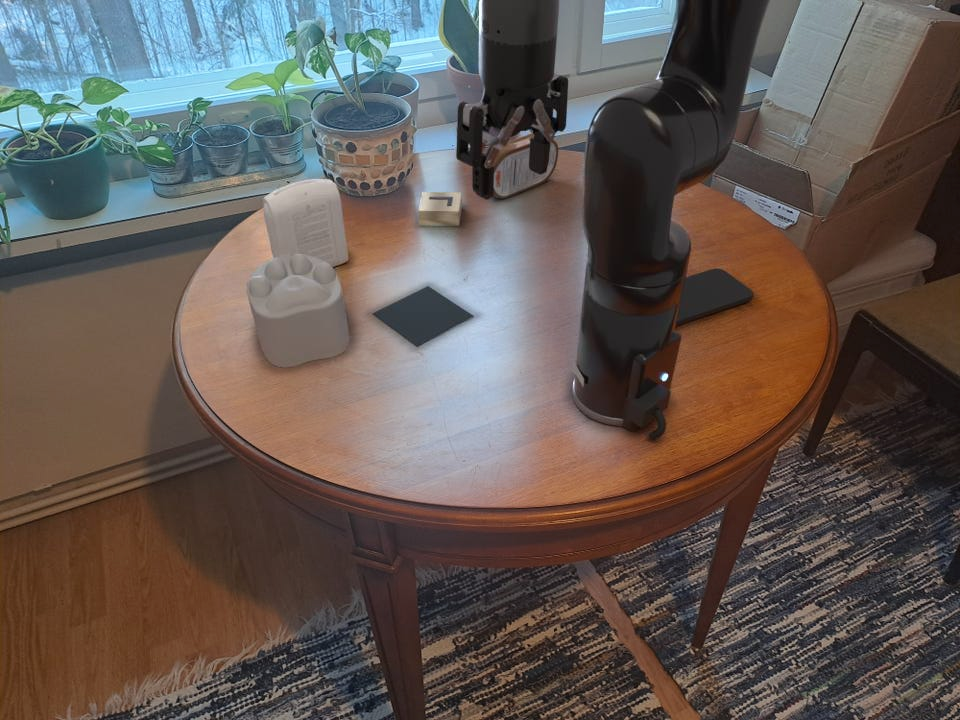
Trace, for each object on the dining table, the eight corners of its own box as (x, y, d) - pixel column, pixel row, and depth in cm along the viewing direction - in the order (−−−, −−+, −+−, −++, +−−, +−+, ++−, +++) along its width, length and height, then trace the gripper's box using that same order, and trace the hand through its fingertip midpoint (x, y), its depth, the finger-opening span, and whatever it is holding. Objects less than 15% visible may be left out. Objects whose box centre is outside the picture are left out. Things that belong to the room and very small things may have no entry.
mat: (473, 316, 88) (473, 315, 88) (416, 346, 84) (416, 346, 84) (428, 286, 93) (428, 285, 93) (372, 313, 89) (372, 313, 89)
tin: (546, 173, 119) (549, 124, 114) (560, 179, 117) (563, 130, 112) (478, 200, 112) (477, 149, 106) (490, 207, 110) (491, 156, 105)
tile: (461, 207, 110) (461, 191, 109) (459, 226, 106) (458, 210, 104) (423, 206, 110) (422, 191, 109) (419, 225, 106) (418, 210, 104)
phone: (625, 295, 90) (719, 266, 95) (624, 300, 91) (718, 271, 95) (660, 327, 85) (758, 294, 90) (659, 332, 85) (756, 299, 90)
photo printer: (341, 249, 101) (328, 167, 93) (354, 262, 98) (342, 179, 90) (272, 271, 97) (252, 187, 89) (284, 285, 94) (265, 201, 86)
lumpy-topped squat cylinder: (267, 372, 80) (251, 311, 75) (252, 310, 90) (236, 251, 84) (357, 351, 83) (347, 290, 78) (333, 293, 92) (323, 234, 87)
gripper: (492, 54, 62) (489, 218, 72) (596, 21, 69) (579, 174, 80) (436, 34, 66) (440, 192, 76) (539, 5, 73) (530, 153, 84)
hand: (511, 183), depth 78 cm, fingers open, 8 cm apart
